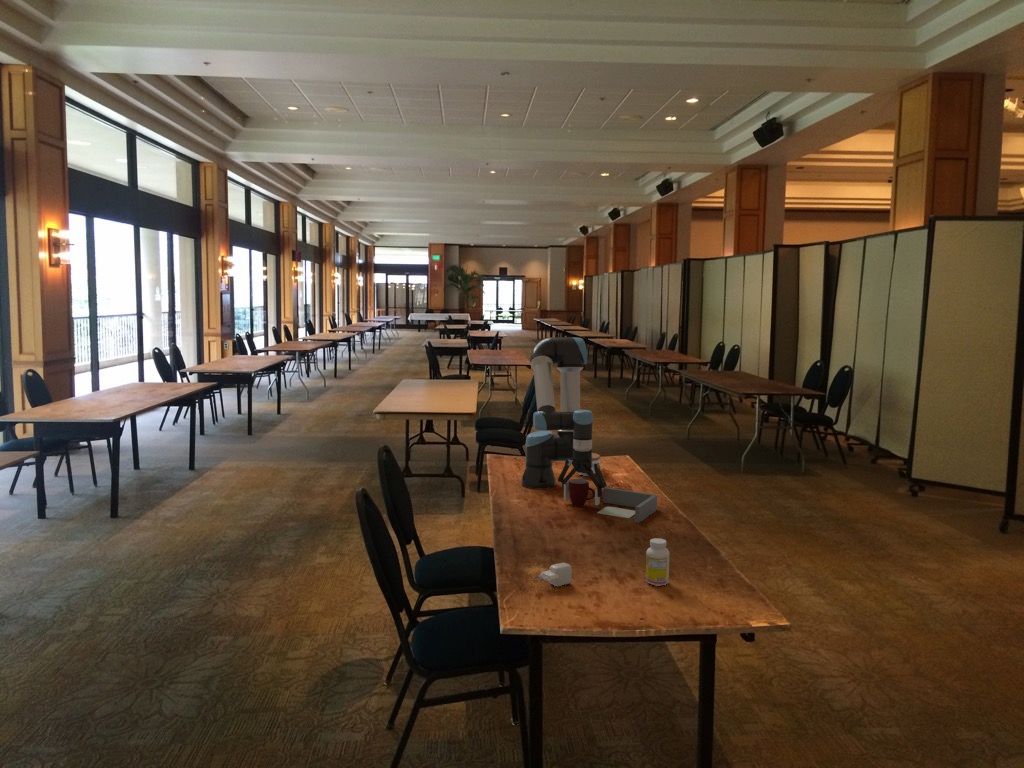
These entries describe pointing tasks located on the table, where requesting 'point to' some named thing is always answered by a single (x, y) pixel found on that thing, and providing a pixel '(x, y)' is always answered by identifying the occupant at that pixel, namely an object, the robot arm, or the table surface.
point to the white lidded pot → (594, 460)
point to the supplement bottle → (657, 562)
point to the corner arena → (629, 503)
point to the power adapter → (557, 574)
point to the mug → (579, 491)
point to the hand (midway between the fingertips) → (581, 502)
